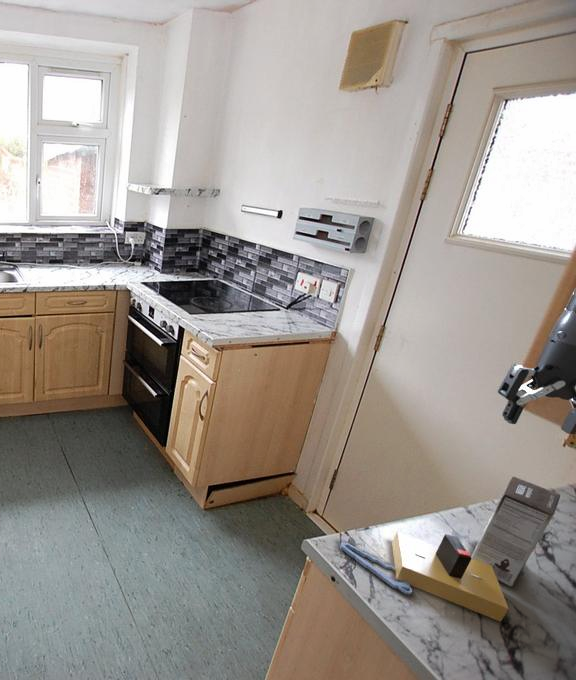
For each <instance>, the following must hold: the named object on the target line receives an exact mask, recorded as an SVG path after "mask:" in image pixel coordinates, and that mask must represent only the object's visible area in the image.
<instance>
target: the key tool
mask: <svg viewBox="0 0 576 680" xmlns="http://www.w3.org/2000/svg"><path fill="white" fill-rule="evenodd" d="M340 550H342V551H343V552H345V554H347V555H348V556H349V557H351V558H352V559H354V560H355V561H356V562H357V563H358V564H360V565H361V566H362V567H363V568H365V569H367V570H368V571H370V572H371V573H372V574H374V575H375V576H377V577H378V578H379V579H380V580H382V581H383V582H385V583H386V584H387V585H389V586H390V587H391V588H393V589H398V590H399V591H400V592H402V593H403V594H405V595H412V593H413V588H411V587H412V586H411V585H410V583H409V582H406V581H405V582H402V581H395V580H394V579H392V578H390V577H389V576H388V575H386V574H385V573H383V572H382V571H380V570H379V569H378V568H376V567H375V566H373V565H372V564H371V563H370V562H368V561H367V560H365V559H364V558H367V559H368V560H369V561H371V562H372V563H377V564H379V565H380V566H381V567H382V568H384V569H389V570H392V571H393V572H395V573H396V568H395V566H393V565H392V564H387V563H385V562H383V561H382V560H380V558H378V557H373V556H372V555H371V554H369V553H368V552H365V551H362V550H360V549H358V548H357V547H356V546H355V545H352V544H351V543H350V542H346V541H345V542H344V541H341V543H340ZM359 555H360V556H359ZM361 556H362V557H363V558H362V557H361Z"/></svg>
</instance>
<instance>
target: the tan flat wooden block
mask: <svg viewBox="0 0 576 680" xmlns="http://www.w3.org/2000/svg"><path fill="white" fill-rule="evenodd" d="M391 546H392V554H393V555H392V556H393V562H394V567H395V568H396V572H395V577H396V580H397V581H398V582H403V583H404V582H405V581H406V582H409V583H410V587H414V588H416V589H419V590H421V591H424V592H426V593H428V594H431V595H434V596H437V597H438V598H441V599H443V600H446V601H448V602H450V603H453V604H456V605H458V606H460V607H463V608H465V609H468V610H470V611H472V612H475V613H478V614H480V615H483V616H485V617H488V618H490V619H491V620H492V619H493V620H495V621H498V622H500V623H501V622H502V620H503V619H504V617H505V615H507V612H508V611H509V606H508V603H507V601H506V600H507V599H506V598H505V595H504V592H503V591H502V588H501V585H500V583H499V580H497V577H496V575H495V572H494V570H493V567H492V566H491V565H488V564H485V563H483V562H480V561H477V560H474V559H471V561H470V563H469V565H468V567H467V569H466V571H465V573H464V575H463V576H462V578H461V579H460V578H457V577H453V576H449V575H448V573H447V571H446V570H445V568H444V567H443V565H442V563H441V562H440V560H439V558H438V557H437V555H436V552H437V550H438V548H439V546H440V545H437V544H433V543H430V542H429V541H426V540H423V539H420V538H417V537H414V536H411V535H409V534H406V533H403V532H401V531H398V530H397V531H396V533H395V535H394V536H393V540H392V542H391Z"/></svg>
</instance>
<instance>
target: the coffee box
mask: <svg viewBox="0 0 576 680" xmlns="http://www.w3.org/2000/svg"><path fill="white" fill-rule="evenodd" d="M560 498H561V494H560V493H558V492H555V491H553V490H550V489H547V488H544V487H541V486H540V485H538V484H535V483H532V482H529V481H526V480H524V479H521V478H518V477H516V476H511V479H510V480H509V482H508V484H507V486H506V487H505V489H504V490H503V493H502V495H501V497H500V498H499V501H498V502H497V504H496V506H495V509H494V510H493V512H492V514H491V516H490V518H489V520H488V521H487V523H486V526H485V528H484V530H483V531H482V534H481V536H480V538H479V540H478V542H477V543H476V545H475V548H474V550H473V552H472V554H471V558H472V559H474V560H477V561H480V562H483V563H485V564H488V565H491V566H492V567H493V570H494V572H495V575H496V577H497V580H498V582H499V581H500V582H501V583H503V584H505V585H507V586H509V587H513V586H514V583H515V582H516V580H517V579H518V577H519V575H520V574H521V572H522V570H523V568H524V566H526V563H527V562H528V560H529V558H530V556H531V555H532V554H533V551H534V550H535V548H536V546H537V545H538V543H539V541H540V540H541V538H542V536H543V534H544V532H545V531H546V529H547V527H548V525H549V524H550V522H551V520H552V519H553V517H554V515H555V513H556V510H557V508H558V505H559V502H560Z"/></svg>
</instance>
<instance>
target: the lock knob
mask: <svg viewBox="0 0 576 680" xmlns="http://www.w3.org/2000/svg"><path fill="white" fill-rule="evenodd" d="M438 546H439V548H438V550H437V552H436V555H437V557H438V558H439V560H440V562H441V563H442V565H443V567H444V568H445V570H446V571H447V573H448V575H449V576H453V577H457V578H460V579H461V578H462V576H463V575H464V573H465V571H466V569H467V567H468V565H469V563H470V561H471V559H472V558H471V556H472V554H470V552H469V551H467V549H466V548H465V547H464V545H463V544H462V542H461V541H460V538H458V536H454V535H451V534H446V533H444V535H443V537H442V540H441V542H440V544H439V545H438Z"/></svg>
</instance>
